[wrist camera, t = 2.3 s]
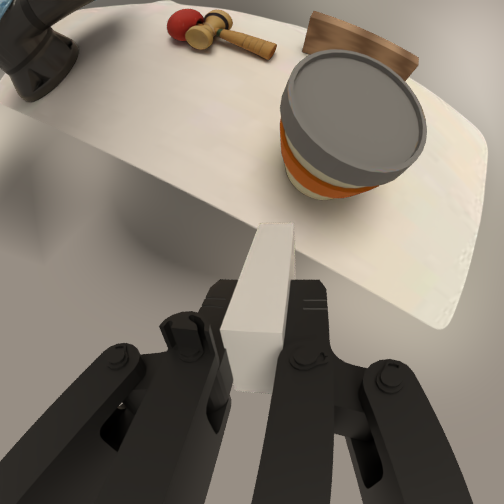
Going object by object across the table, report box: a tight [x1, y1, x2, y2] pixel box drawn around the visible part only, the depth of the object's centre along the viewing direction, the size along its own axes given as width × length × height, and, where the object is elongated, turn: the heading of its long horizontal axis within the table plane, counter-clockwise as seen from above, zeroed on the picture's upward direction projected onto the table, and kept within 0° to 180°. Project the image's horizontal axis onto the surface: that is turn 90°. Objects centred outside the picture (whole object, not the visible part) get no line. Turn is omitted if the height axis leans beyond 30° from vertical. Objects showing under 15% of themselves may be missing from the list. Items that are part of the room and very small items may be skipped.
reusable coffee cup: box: [280, 49, 427, 200], centre depth 25 cm, size 13×12×15 cm
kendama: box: [167, 9, 277, 60], centre depth 31 cm, size 8×6×18 cm
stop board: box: [302, 11, 419, 81], centre depth 30 cm, size 16×2×8 cm, turn 69°
